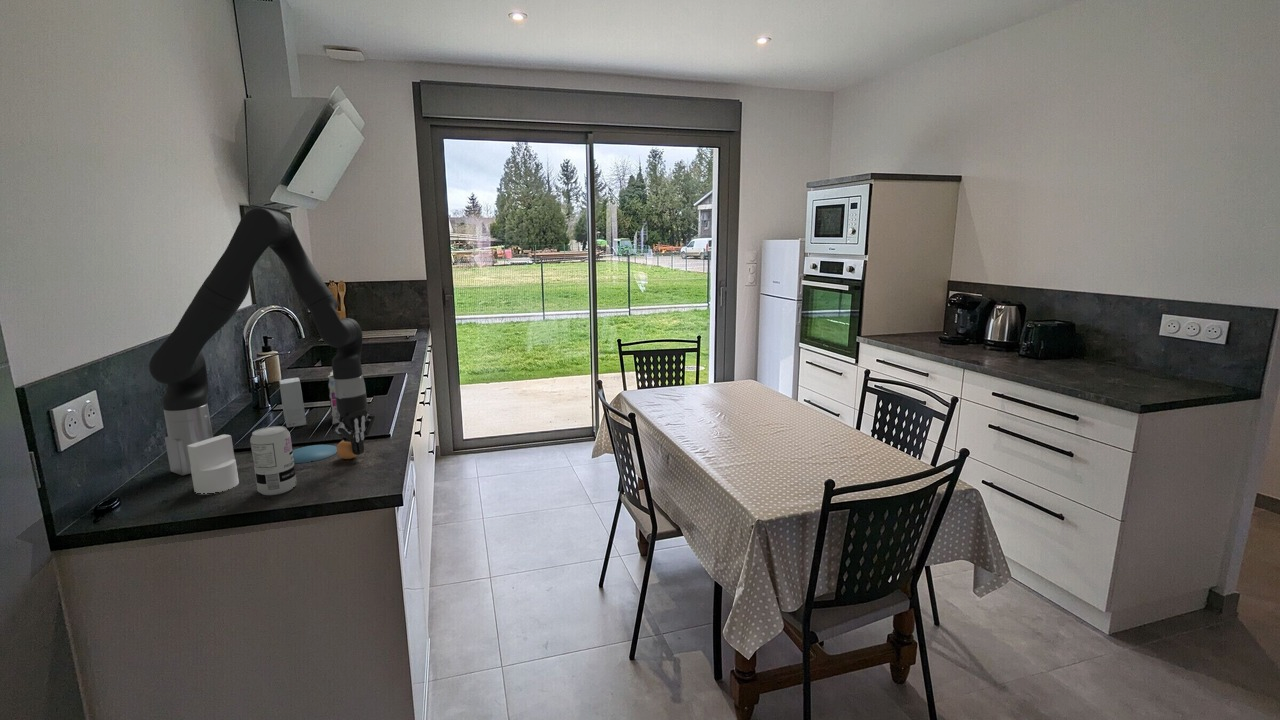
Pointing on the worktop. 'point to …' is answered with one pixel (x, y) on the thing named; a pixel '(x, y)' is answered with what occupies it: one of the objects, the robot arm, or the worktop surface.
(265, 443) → the supplement can
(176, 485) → the worktop surface
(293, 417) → the skincare box
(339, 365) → the robot arm
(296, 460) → the disc
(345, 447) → the ball
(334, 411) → the candy bar box
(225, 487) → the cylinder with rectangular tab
